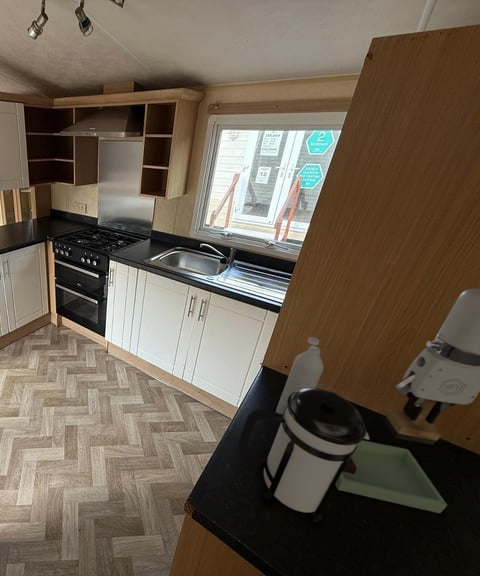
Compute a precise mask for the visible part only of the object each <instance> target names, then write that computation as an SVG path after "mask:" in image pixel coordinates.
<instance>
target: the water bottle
mask: <svg viewBox="0 0 480 576" xmlns="http://www.w3.org/2000/svg"><path fill="white" fill-rule="evenodd" d="M307 343H308V344H310V346H309V347H308V348H307V350H306V351H303V352H302V353H299V354H298V355H296V356H295V358H294V359H293V363H292V366H291V369H290V371H289V374H288V377H287V379H286V382H285V385H284V387H283V391H282V392H281V395H280V399H279V401H278V404H277V407H276V409H275V413H279V414H283V413H284V410H285V409H286V408H287V400H288V397H289V396H290V394H291V393H293V392H295V391H298V390H300V389H303V388H317V385H318V383H319V381H320V379H321V376H322V374H323V372H324V367H325V366H324V362H323V360H322V358H321V355H320V354H321V348H319V347H318V345H319V344H320V340H319V338H317V337H314V336H309V337H308V338H307ZM283 417H284V416H283Z"/></svg>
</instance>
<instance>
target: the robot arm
mask: <svg viewBox="0 0 480 576" xmlns="http://www.w3.org/2000/svg"><path fill="white" fill-rule="evenodd" d="M425 345H426V347H425V348H424V349H423V350H422V351H421V352H420V353H419V354H418V355H417V356H416V357H415V359H414V360H413V361H412V362H411V364H410V365H409V367H408V368H407V370H406V371H405V373H404V375H403V377H402V381H400V382H399V383H398V384H396V385H395V386H394V389H395V390H396V391H397V392H398V393H399V394H401V395H404V396H405V397H406V398H408V399H407V400H406V403H405V405H404V406H403V408H402V412H405V414H406V415H407V416H408V417H409V419H410V420H412V421H415V420H416V419H417V417H418V416H419V414H420V413H421V411H422V409H423V408H422V407H421V405H422V404H423V402H424V401H425V400H426V399H428V400H435V401H437V402H436V403H435V405H434V406H433V408H432V409H431V411H430V412H429V414H428V416H427V417H426V419H425V420H426V421H427V422H428V423H430V424H433V425H434V422H435V421H436V419H437V418H438V416H439V415H440V413H441V412H444V411H448V409H449V408H450V407H452V406H455V405H470V404H472V403H473V402H474V401H475V400H476V398H477V396H478V395H479V393H480V288H475V287H474V288H469V289H466V290H463V291H462V292H461V293H460V294H459V296H458V297H457V300H456V301H455V303H454V304H453V306H452V307H451V309H450V311H449V313H448V315H447V316H446V318H445V320H444V322H443V323H442V325H441V326H440V329H439V330H438V332H437V333H436V335H435V337H434V339H433V340H427V341H426V343H425Z"/></svg>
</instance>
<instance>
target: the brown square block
mask: <svg viewBox="0 0 480 576" xmlns="http://www.w3.org/2000/svg"><path fill="white" fill-rule="evenodd" d="M356 470H357V468H356V466H355V464H354V462H353V460H352V458H350V459H348V461H347V464H346V466H345V467H344V469H343V472H347V473H352V474H354V473H355V471H356Z"/></svg>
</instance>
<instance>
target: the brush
mask: <svg viewBox="0 0 480 576" xmlns="http://www.w3.org/2000/svg"><path fill="white" fill-rule="evenodd" d="M436 402H437V401H435V400H428V399H426V400H425V401H424V402H423V404H422V405H421V407H422V408H423V409H422V411H421V413H420V414H419V416H418V417H417V419H416V420H415V421H412V420H410V419H409V417H408V416H407V415H406V414H405V412H404V411H401V410H395V409H391V408H390V409H388V410H387V412H386V413H385V417H384V418H383V422H384V423H385V425H386V426H387V428H388V429H389V431H390V432H391V434H392V435H393V437H394V438H395V439H400V440H406V441H410V442H416V443H420V444H426V445H431V446H434V444H436V442H437V441H439V440H440V438H441V436H442V434H441V432H440V431H439V430H438V429H437V427H436V426H435V424H434V423H433V424H430V423H428V422H427V421H426V420H425V419H426V417H427V416H428V414H429V412H430V411H431V409H432V408H433V406H434V405H435V403H436Z"/></svg>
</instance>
